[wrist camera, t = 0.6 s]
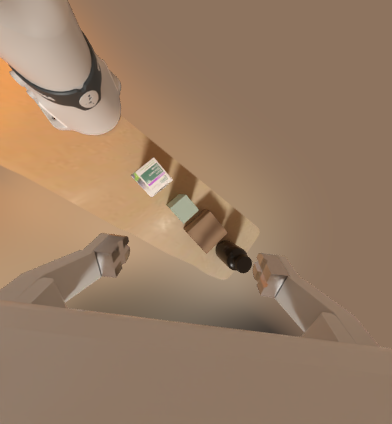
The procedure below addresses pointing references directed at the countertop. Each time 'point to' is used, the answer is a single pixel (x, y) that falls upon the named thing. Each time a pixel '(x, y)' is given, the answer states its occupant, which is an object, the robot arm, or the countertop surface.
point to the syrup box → (152, 177)
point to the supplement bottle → (233, 256)
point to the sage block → (182, 207)
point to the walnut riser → (205, 230)
